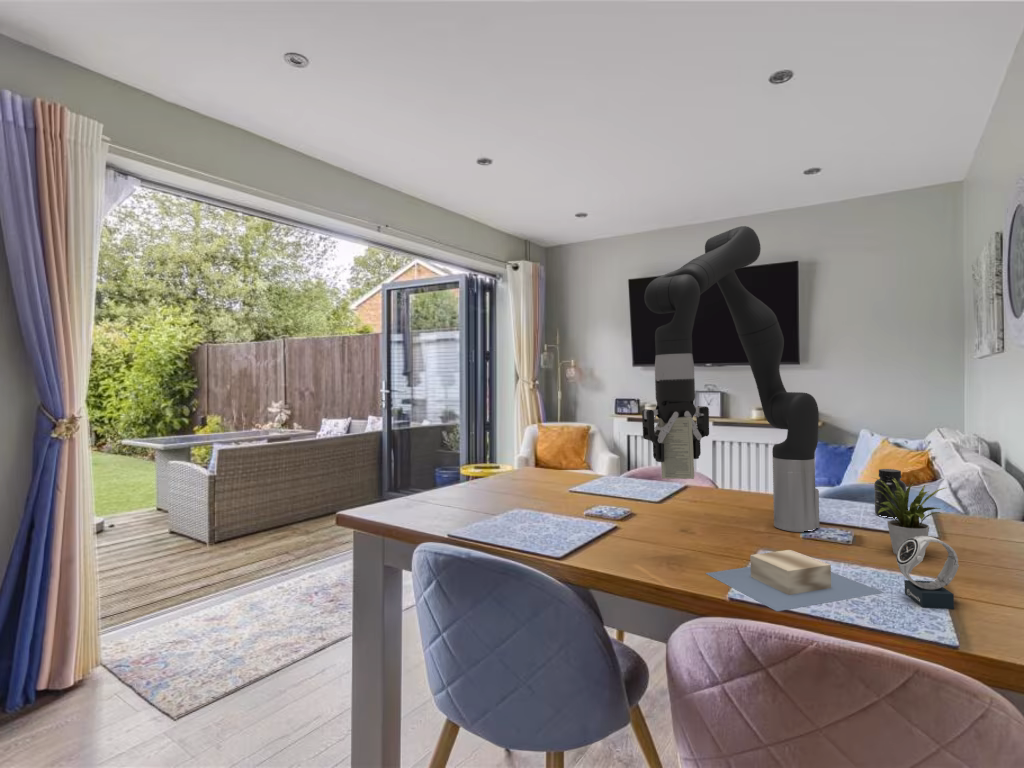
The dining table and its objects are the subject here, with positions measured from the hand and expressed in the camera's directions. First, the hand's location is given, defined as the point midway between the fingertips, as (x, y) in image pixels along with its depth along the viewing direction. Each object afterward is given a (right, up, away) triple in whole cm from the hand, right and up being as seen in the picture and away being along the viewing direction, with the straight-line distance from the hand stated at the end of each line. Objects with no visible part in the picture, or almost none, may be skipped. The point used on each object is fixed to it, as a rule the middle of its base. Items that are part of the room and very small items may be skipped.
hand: (677, 460), depth 109 cm
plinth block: (+17, -20, -12) cm, 29 cm away
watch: (+34, -21, -21) cm, 45 cm away
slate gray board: (+17, -21, -12) cm, 29 cm away
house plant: (+48, -20, +5) cm, 52 cm away
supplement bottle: (+66, -20, +35) cm, 77 cm away
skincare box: (0, -4, 0) cm, 4 cm away
